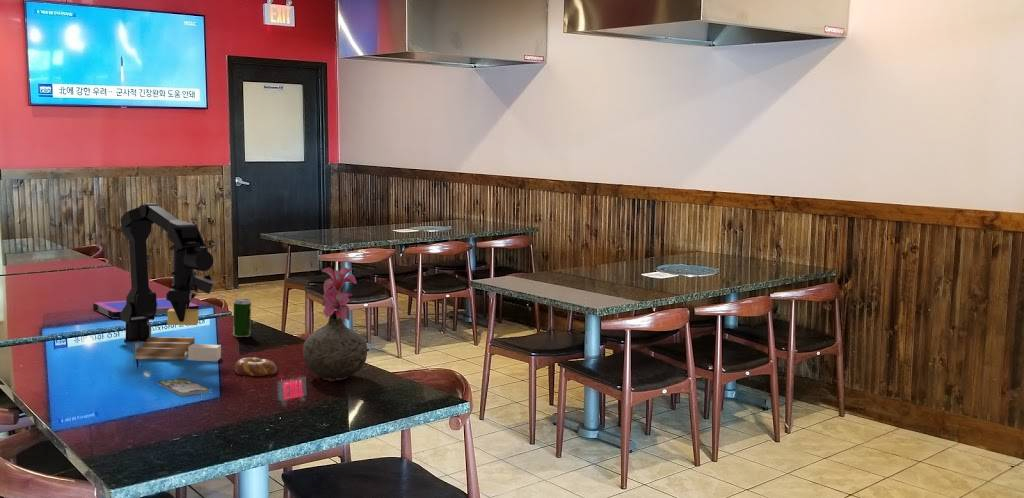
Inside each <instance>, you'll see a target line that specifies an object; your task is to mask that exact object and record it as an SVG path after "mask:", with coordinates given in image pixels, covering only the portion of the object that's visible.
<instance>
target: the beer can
mask: <svg viewBox="0 0 1024 498" xmlns="http://www.w3.org/2000/svg"><path fill="white" fill-rule="evenodd" d="M232 318H233V319H232V320H233V321H232V323H233V324H232V326H233V327H232V335H233V337H234V336H235V337H234V338H236V337H247V338H249V337H250V336H251V332H252V331H251V330H252V329H251V327H252V323H251V322H252V302H251V299H250V298H235V299H234V302H233V316H232Z"/></svg>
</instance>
